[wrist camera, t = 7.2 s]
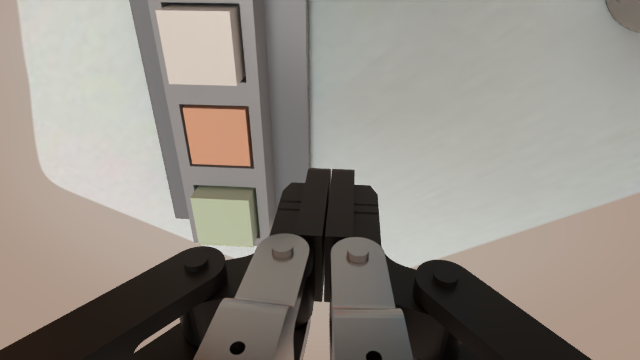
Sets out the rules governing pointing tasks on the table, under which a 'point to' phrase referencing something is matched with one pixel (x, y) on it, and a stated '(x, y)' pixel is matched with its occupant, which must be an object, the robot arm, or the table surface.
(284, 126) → the console
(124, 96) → the table surface
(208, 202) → the button sage
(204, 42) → the button cream
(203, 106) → the button terracotta
